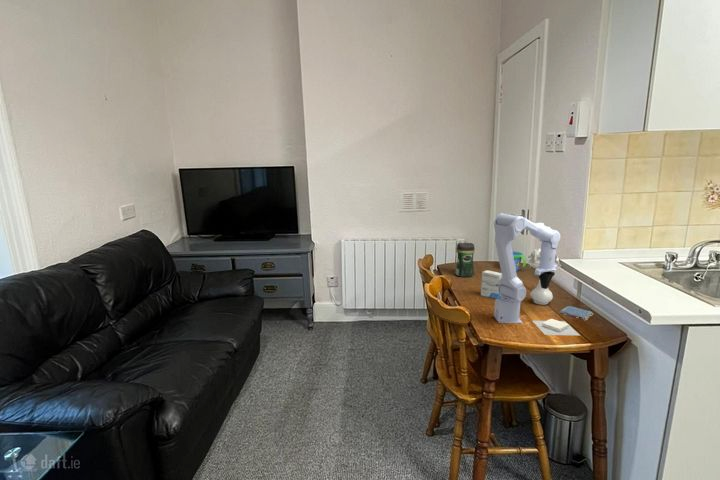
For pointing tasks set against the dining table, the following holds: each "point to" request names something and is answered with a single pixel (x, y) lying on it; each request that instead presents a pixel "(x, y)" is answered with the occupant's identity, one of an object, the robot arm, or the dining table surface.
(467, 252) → the coffee jar
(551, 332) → the felt pad
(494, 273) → the ink box
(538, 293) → the flower vase
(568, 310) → the woven mat
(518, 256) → the snack cup
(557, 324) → the tile
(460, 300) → the dining table surface
